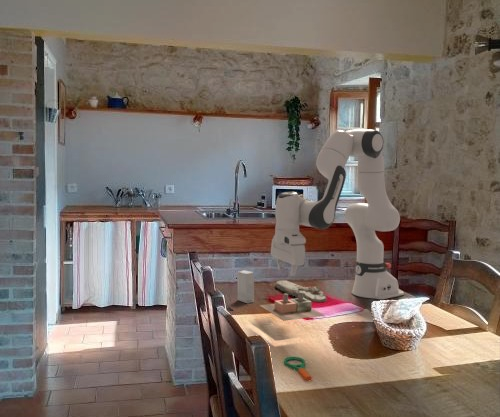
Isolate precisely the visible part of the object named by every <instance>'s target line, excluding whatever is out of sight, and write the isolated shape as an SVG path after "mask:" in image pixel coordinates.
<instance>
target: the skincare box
mask: <svg viewBox="0 0 500 417" xmlns="http://www.w3.org/2000/svg"><path fill="white" fill-rule="evenodd" d="M236 273H237V274H236V277H237V278H236V279H237V280H236V281H237V301H239V302H242V303H244V304H245V303H246V304H251V303H254V302H255V272H253V271H250V270H249V271H248V270H245V269H244V270H240V271H237V272H236Z"/></svg>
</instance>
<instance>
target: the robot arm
mask: <svg viewBox="0 0 500 417" xmlns="http://www.w3.org/2000/svg"><path fill="white" fill-rule="evenodd" d="M384 144H385V141H384V137H383V135H382V132H380V131H379V130H376V129H371V128H369V129H365V128H356V129H349V130H347V129H346V130H341V129H338V130H335V131H333V132H332V133H331V134H330V136H329V137H328V138H327V140H326V141H325V142H324V144H323V145H322V147H321V149H320V152H319V153H318V155H317V158H316V161H315V165H316V168H317V170H318V172H319V174H321V175H322V176H323V177H324V178H326V179H327V180H328V181H327V182H328V183H327V184H326V188H325V191H324V194H323V197H322V198H321V199H320V200H318V201H317V200H310V199H307V198H303V197H302V196H300V195H299V194H298V192H297V191H285V192H281V193H279V194H278V195H277V198H276V200H275V209H274V210H275V211H274V212H275V215H274V216H275V220H276V221H275V222H276V223H275V227H274V230H275V231H274V232H275V233H274V235H273V237H272V239H271V246H270V255H271V257H273V258H275V259H276V260H275V261H276V264H277V270H278V271H284V269H285V268H284V267H285V266H284V264H283V262H285V263H287V264H289V265H290V267H291V269H290V270H289V276H291V277H295V276H296V275H297V271H298V267H300V266H303V265H304V264H305V261H306V247H305V244H306V243H307V239H306V237H305V236H304V235H303V234H302V233H301V231H300V226H301V225H302V226H304V227H309V228H310V227H311V228H314V229H317V230H323V231H324V230H326V229H328V228H329V227H330V226H332V224H333V223H334V221H335V218H336V212H337V211H336V210H337V207H338V203H339V200H340V197H341V196H342V195H341V194H342V191H343V188H344V186H345V182H346V178H347V177H346V176H347V172H346V169H345V166H346V164H347V163H348V160H349V158H350V157H352V158H357V190H358V192H359V193H360V194H361V195H362V196H363V197H364V198H365V200H366V202H355V203H351V204H349V205H348V206H347V207H346V210H345V213H344V219H345V222H346V223H347V225H348V226H349V227H350V228H351V230H352V232H353V234H354V237H355V240H356V260H355V268H354V270H355V275H354V276H355V278H354V282H353V283H354V284H353V286H352V290H351V294H352V295H353V296H357V297H360V298H366V299H367V298H368V299H375V300H376V299H377V300H386V299H389V298H396V297H400V296H404V295H405V293H404V291H403V290H401V289H400V288H399V281H398V279H397V278H396V277H394V276H393V275H392V274H391V273H390V272H388V271H387V269H391V267H392V264H391V263H388V262H385V261H384V254H385V253H384V252H385V250H384V248H385V246H384V243H383V241H382V240H380V239H379V237H378V236H377V234H376V231H377V232H391V231H395V230H396V229H397V228H398V227H399V224H400V221H401V216H400V212H399V210H398V209H397V208H396V207H395V206H394V205H393V204H392V203H391V201H390V199H389V197H388V193H387V191H386V190H387V189H386V180H385V175H386V174H385V158H384V154H383V149H384Z"/></svg>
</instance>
